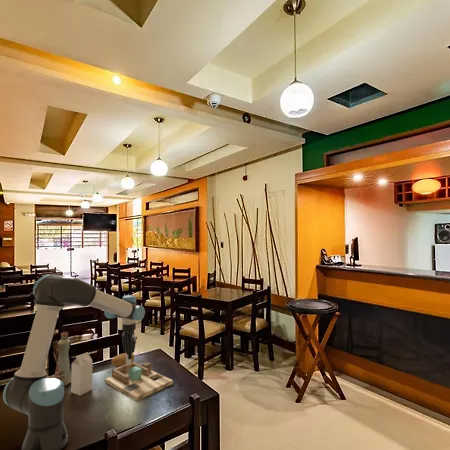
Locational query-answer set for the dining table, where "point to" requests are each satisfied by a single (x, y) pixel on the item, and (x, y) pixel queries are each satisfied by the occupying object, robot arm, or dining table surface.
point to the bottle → (63, 360)
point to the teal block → (135, 373)
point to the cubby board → (137, 382)
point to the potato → (120, 360)
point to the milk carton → (81, 374)
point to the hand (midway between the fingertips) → (128, 364)
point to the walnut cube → (147, 365)
